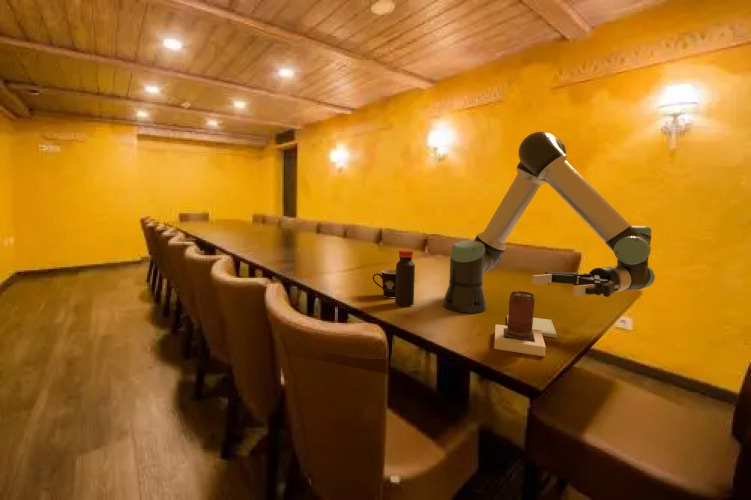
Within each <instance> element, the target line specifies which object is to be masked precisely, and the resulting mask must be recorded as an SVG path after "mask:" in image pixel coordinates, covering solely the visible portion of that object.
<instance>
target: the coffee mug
mask: <svg viewBox="0 0 751 500" xmlns="http://www.w3.org/2000/svg"><path fill="white" fill-rule="evenodd" d="M376 276H379V277H380V278H381V283H382V285H381V284H379V283H378V282H376V280H375V277H376ZM372 281H373V282H374V284H375V285H377V286H378V287H380V288H381V289H382V291H383V297H384V296H386V297H395V293H396V269H383V270H381V273H374V274H373V276H372ZM386 297H385V298H386Z"/></svg>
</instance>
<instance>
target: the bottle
mask: <svg viewBox="0 0 751 500" xmlns="http://www.w3.org/2000/svg"><path fill="white" fill-rule="evenodd" d="M413 253H414V251H413V250H412V249H411V250H410V249H399V250H398V257H399V260H398V261H397V263H396V264H395V270H396V293H395V298H394V301H395V302H394V303H396V304H397V305H396V304H395V305H396V306H398V305H399V306H398V307H402V306H409V307H412V306H414V303H415V278H416V277H415V273H416V271H415V270H416V269H415V267H416V265H415V263H414V262H413V260H412V259H413V255H414V254H413ZM411 305H412V306H411Z"/></svg>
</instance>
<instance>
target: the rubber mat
mask: <svg viewBox="0 0 751 500" xmlns="http://www.w3.org/2000/svg"><path fill="white" fill-rule="evenodd" d="M506 320H507V325H506V326H508V314H507V315H506ZM532 329H535V330H541V333H542V336H543V337H549V338H556V339H557V337H558V334H557V332H556V328H555V326H554V324H553V321H552V319H547V318H539V317H533V326H532Z"/></svg>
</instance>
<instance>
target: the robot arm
mask: <svg viewBox="0 0 751 500" xmlns="http://www.w3.org/2000/svg"><path fill="white" fill-rule="evenodd" d="M517 153H518V158H519V160H520V161H519V162H518V164H517V166H516V171H517V174H516V176H515V178H514V180H513V182H512V183H511V185H510V186H509V188H508V190H507V192H506V193H505V194H504V197H503V198H502V199H501V202H500V203H499V205H498V207H497V208H496V210H495V212H494V214H493V215H492V217H491V218H490V220H489V222H488V224H487V226H486V227H485V229H484V230H483V231H482V232H479V233H477V234H476V236H475V237H474V240H463V241H456V242H454V243H453V244H452V246H451V249H450V252H449V253H450V254H449V256H450V259H449V260H450V261H449V281H448V287H447V290H446V292H445V294H444V298H443V307H444V308H446V309H448V310H450V311H453V312H458V313H466V314H467V313H468V314H469V313H470V314H475V313H482V312H485V311H486V310H487V299H486V296H485V292H484V291H485V290H484V289H483V284H484V282H483V281H484V274H485V273H488V272H491V271H494V270H495V269H496V268H497V267H498V266H499V265H500V263H501V261H502V257H503V254H504V253H505V251H506V249H507V248H506V241H507V239H508V238H509V237H510V235H511V233H512V232H513V230H514V228H515V227H516V225H517V223H518V222H519V221H520V219H521V217H522V216H523V214H524V213H525V211H526V209H527V207H528V206H529V205H530V203H531V201H533V198H534V197H535V195H536V194H537V191H538V190H539V189H540V187H541V186H542V185H544V184H548V185H549V186H550V187H551V188H552V189H553V190H554V191H555V192H556V193H557V194H558V195H559V196H560V197H561V198H562V200H563V201H565V203H566V204H567V205H568V206H569V207H570V208H571V209H572V210H574V212H575V213H576V214H577V215H578V216H579V217H580V218H581V219H582V220H583V221H584V223H586V224H587V225H588V226H589V228H591V230H592V231H593V232H594V233H595V234H596V236H598V237H599V238H600V239H601V240H602V241H603V242H604V243H605V244H606V245H607V247H608V248H609V249H610V250H611V251H612V252H613V254H614V256H615V257H616V265H615V266H603V267H595V268H593V269H591V271H589V273H587V272H586V273H579V272H576V271H575V272H556V271H555V272H553V271H552V272H549V271H545V272H544V274H534V275H532V281H531V282H532V283H531V285H533V286H539V285H548V286H549V285H550V284H552V283H554V284H555V283H556V284H557V283H558V284H569V285H572V286H573V289H572V297H573V298H574V297H575V298H576V297H577V298H579V297H586V296H594V295H596V296H601V295H603V297H605V298H607V297H608V298H609V297H610V296H611V295H612V294H616V292H617V293H618V292H624V291H625V292H626V291H639V290H642V289H646V288H648V287H651V286H652V285H653V283H654V281H655V279H656V275H655V273H654V271H653V270H654V269H652V268H651V267H650V266H649V258H650V257H649V256H650V255H651V252H652V249H651V248H652V247H651V241H652V228H651V227H650V226H646V225H632V224H630V222H628V221H627V220H626V219H625V218H624V217H623V216H622V214H620V213H619V212H618V211H617V210H616V208H614V207H613V205H611V204H610V203H609V202H608V201H607V200H606V198H604V197H603V195H601V194H600V193H599V192H598V191H597V190H596V189H595V188H594V187H593V186H592V185H591V183H589V182H588V181H587V180H586V179H585V178H584V177H583V176H582V175H581V174H580V173H579V172H578V171H577V169H575V168H574V167H573V166H572V165H571V164H570V163H569V161H567V157H568V156H567V149H566V147H565V144H564V143H563V141H561V139H559V138H557V137H555V136H554V135H553V134H552V133H549V132H547V131H536V132H532V133H530V134H528V135H527V136H525V138H523V139H522V141H521V143H520V145H519V147H518V152H517ZM577 282H578V283H577Z"/></svg>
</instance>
